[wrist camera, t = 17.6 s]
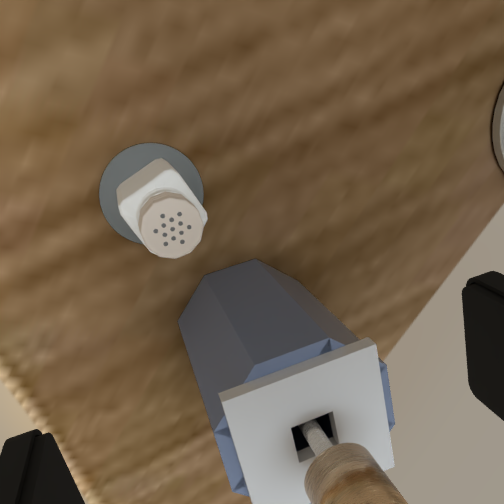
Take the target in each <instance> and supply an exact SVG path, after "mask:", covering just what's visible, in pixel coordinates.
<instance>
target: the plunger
mask: <svg viewBox="0 0 504 504" xmlns="http://www.w3.org/2000/svg"><path fill="white" fill-rule="evenodd" d="M298 426H299V428H300V430H301V431H302V433H303V435H304V437H305V438H306V440H307V442H308V443H309V445H310V447H311V448H312V450H313V452H314V453H315V455H316V458H315V460H314V461H313V462H312V463H311V465H310V466H309V468H308V470H307V472H306V475H305V480H304V488H305V492H306V494H307V496H308V498H309V500H310V502H311V504H408V503H407V502H406V500H405V499H404V498H403V496H402V495H401V494H400V492H399V491H398V490H397V488H396V487H395V486H394V484H393V483H392V482H391V480H390V479H389V478H388V476H387V475H386V474H385V472H384V471H383V470H382V468H381V467H380V466H379V464H378V463H377V462H376V460H375V459H374V458H373V456H372V455H371V454H370V452H369V451H368V450H367V449H366V448H365V447H364V446H362V445H360V444H356V443H341V444H337V445H335V446H333V445H332V444H331V442H330V441H329V439H328V438H327V436H326V435H325V433H324V432H323V430H322V428H321V427H320V425H319V424H318V422H317V421H316V419H315V418H314V419H312V420H309V421H307V422H304V423H302V424H300V425H298Z"/></svg>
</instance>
